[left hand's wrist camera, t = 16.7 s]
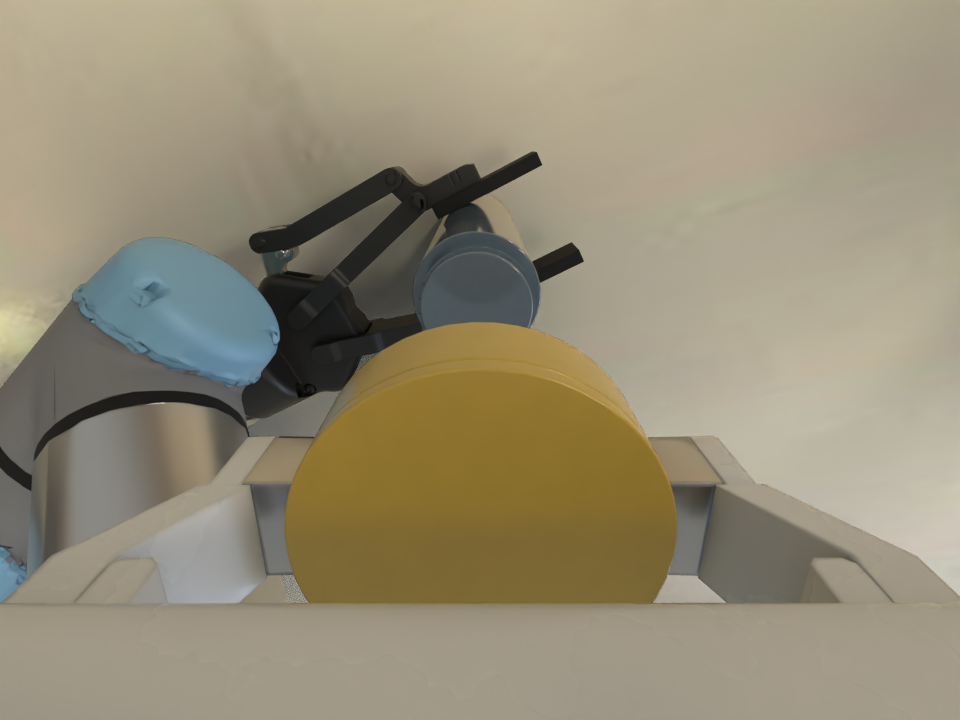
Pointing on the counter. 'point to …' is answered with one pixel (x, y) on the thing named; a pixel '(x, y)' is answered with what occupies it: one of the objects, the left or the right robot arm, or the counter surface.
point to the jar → (477, 270)
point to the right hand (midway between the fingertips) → (557, 206)
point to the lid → (480, 480)
